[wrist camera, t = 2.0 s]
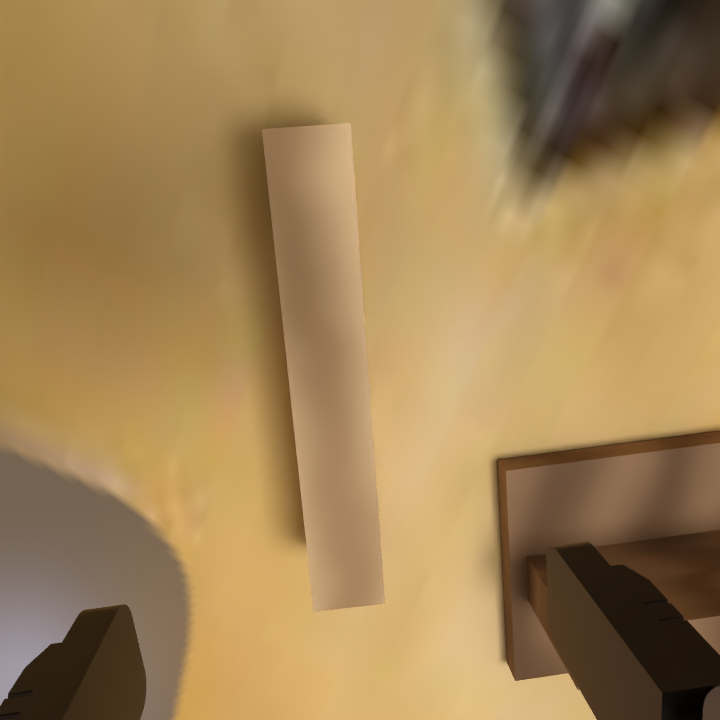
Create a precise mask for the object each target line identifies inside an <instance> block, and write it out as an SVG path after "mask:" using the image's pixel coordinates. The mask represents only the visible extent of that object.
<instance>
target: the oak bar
mask: <svg viewBox="0 0 720 720" xmlns="http://www.w3.org/2000/svg"><path fill="white" fill-rule="evenodd" d="M262 137H263V146H264V155H265V165H266V174H267V183H268V192H269V202H270V211H271V220H272V230H273V239H274V248H275V258H276V267H277V276H278V285H279V295H280V304H281V313H282V323H283V332H284V341H285V351H286V360H287V369H288V379H289V388H290V397H291V406H292V416H293V425H294V434H295V444H296V453H297V462H298V472H299V481H300V490H301V499H302V509H303V518H304V527H305V537H306V546H307V555H308V565H309V574H310V583H311V593H312V602H313V611H314V612H315V611H324V610H333V609H341V608H350V607H359V606H368V605H377V604H385V596H384V582H383V568H382V554H381V541H380V527H379V513H378V499H377V485H376V471H375V457H374V443H373V429H372V415H371V401H370V387H369V373H368V359H367V345H366V331H365V317H364V303H363V289H362V275H361V261H360V247H359V233H358V219H357V205H356V191H355V177H354V163H353V149H352V135H351V123H343V124H328V125H313V126H298V127H283V128H267V129H262Z"/></svg>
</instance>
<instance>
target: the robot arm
mask: <svg viewBox="0 0 720 720" xmlns="http://www.w3.org/2000/svg"><path fill="white" fill-rule="evenodd" d="M546 563H547V603H548V621H549V626H550V631H551V634H552V638H553V641H554V643H555V646H556V648H557V650H558V652H559V654H560V656H561V657H562V659H563V661H564V663H565V664H566V666H567V668H568V670H569V671H570V673H571V675H572V677H573V678H574V680H575V682H576V684H577V685H578V687H579V689H580V691H581V692H582V694H583V696H584V698H585V700H586V701H587V703H588V705H589V707H590V708H591V710H592V712H593V714H594V715H595V717H596V719H597V720H720V655H719V654H718V653H717V652H716V651H715V649H714V648H713V647H712V646H711V645H710V644H709V643H708V642H707V641H706V640H705V639H704V638H703V637H702V636H701V635H700V633H699V632H698V631H697V630H696V629H695V628H694V627H693V626H692V625H691V624H690V623H689V622H688V621H687V620H686V621H685V620H684V618H683V615H682V614H681V613H680V612H679V611H678V610H677V609H676V608H675V607H674V606H673V605H672V604H671V603H670V604H669V603H668V600H667V598H666V597H665V596H664V595H663V594H662V593H661V592H660V591H659V590H658V589H657V588H656V587H655V586H654V584H653V583H652V582H651V581H650V580H649V579H647V578H645V577H644V576H642V575H640V574H638V573H637V572H635V571H633V570H632V569H630V568H628V567H626V566H625V565H623V564H621V565H614V566H610V564H609V563H608V562H607V561H606V560H605V559H604V557H603V556H602V555H601V554H600V553H599V552H598V550H597V549H596V548H595V547H594V546H593V545H592V544H591V543H590V542H587V541H585V542H578V543H571V544H564V545H557V546H550V547H549V548H548V549H547V555H546ZM145 697H146V674H145V669H144V665H143V660H142V656H141V653H140V648H139V643H138V639H137V635H136V631H135V627H134V623H133V618H132V614H131V611H130V609H129V607H128V606H127V605H125V604H124V605H117V606H110V607H102V608H96V609H88V610H83V611H82V612H81V613H80V614H79V615H78V617H77V618H76V620H75V622H74V623H73V625H72V627H71V628H70V630H69V632H68V633H67V635H66V637H65V639H64V640H63V642H62V643H55V644H51V645H49V646H48V648H46V649H45V650H44V651H43V652H42V653H41V654H40V655H39V656H37V657H36V658H35V659H34V660H33V661H32V662H31V663H30V664H29V665H27V666H26V667H25V669H24V670H23V672H22V673H21V675H20V676H19V678H18V679H17V681H16V683H15V684H14V686H13V687H12V689H11V690H10V692H9V693H8V699H4V701H3V703H2V704H1V706H0V720H140V718H141V715H142V712H143V709H144V704H145Z"/></svg>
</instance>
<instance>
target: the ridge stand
mask: <svg viewBox="0 0 720 720" xmlns="http://www.w3.org/2000/svg"><path fill="white" fill-rule="evenodd" d="M497 462H498V482H499V503H500V524H501V544H502V565H503V586H504V607H505V627H506V648H507V663H508V665H509V668H510V670H511V672H512V675H513V677H514V679H515V681H518V680H525V679H531V678H538V677H545V676H551V675H558V674H565V673H569V675H570V677H571V678H572V680H573V682H574V684H575V686H576V687H577V689H578V690H580V689H579V687H578V685H577V684H576V682H575V680H574V678H573V677H572V675H571V673H570V671H569V670H568V668H567V666H566V664H565V663H564V661H563V659H562V657H561V656H560V654H559V652H558V650H557V648H556V646H555V643H554V641H553V638H552V634H551V631H550V626H549V621H548V603H547V563H546V555H547V549H548V548H549V547H550V546H557V545H564V544H571V543H578V542H585V541H587V542H590V543H591V544H592V545H593V546H594V547H595V548H596V549H597V550H598V552H599V553H600V554H601V555H602V556H603V557H604V559H605V560H606V561H607V562H608V563H609V564H610V566H614V565H621V564H623V565H625V566H626V567H628V568H630V569H632V570H633V571H635V572H637V573H638V574H640V575H642V576H644V577H645V578H647V579H649V580H650V581H651V582H652V583H653V584H654V586H655V587H656V588H657V589H658V590H659V591H660V592H661V593H662V594H663V595H664V596H665V597H666V598H667V600H668V603H669V604H670V603H671V604H672V605H673V606H674V607H675V608H676V609H677V610H678V611H679V612H680V613H681V614H682V615H683V618H684V620H685V621H686V620H687V621H688V622H689V623H690V624H691V625H692V626H693V627H694V628H695V629H696V630H697V631H698V632H699V633H700V635H701V636H702V637H703V638H704V639H705V640H706V641H707V642H708V643H709V644H710V645H711V646H712V647H713V648H714V649H715V651H716V652H717V653H718V654H719V655H720V431H716V432H708V433H700V434H692V435H685V436H677V437H669V438H662V439H654V440H646V441H639V442H631V443H623V444H615V445H608V446H600V447H592V448H585V449H577V450H569V451H561V452H554V453H546V454H538V455H531V456H523V457H515V458H508V459H500V460H497Z"/></svg>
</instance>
